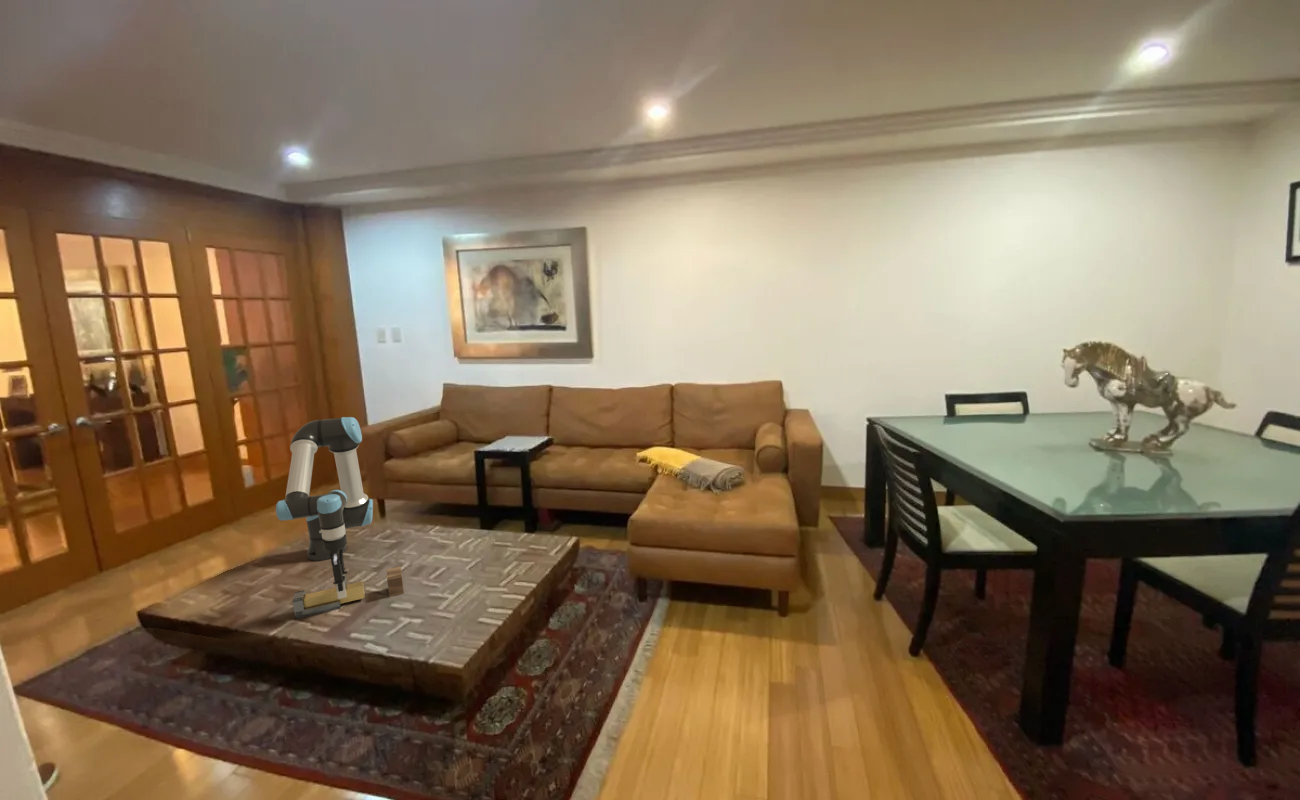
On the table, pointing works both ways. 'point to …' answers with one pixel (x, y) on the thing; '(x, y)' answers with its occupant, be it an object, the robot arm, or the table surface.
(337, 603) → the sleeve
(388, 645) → the table surface
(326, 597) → the tan wooden bar
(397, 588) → the socket
